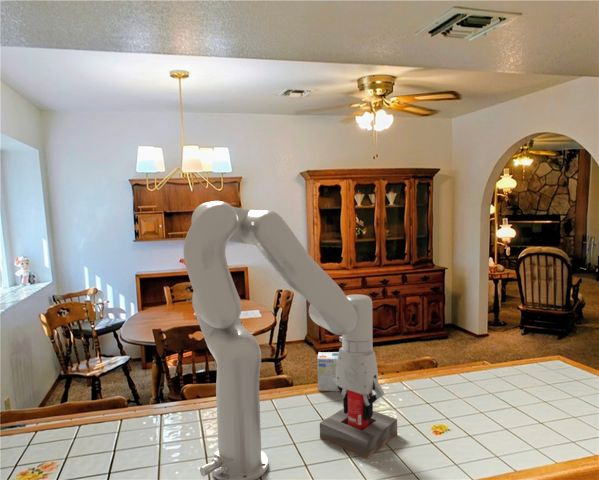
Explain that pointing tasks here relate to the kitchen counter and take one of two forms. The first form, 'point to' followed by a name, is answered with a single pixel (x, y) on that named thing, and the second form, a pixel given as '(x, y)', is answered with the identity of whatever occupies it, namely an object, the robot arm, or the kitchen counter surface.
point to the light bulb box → (327, 371)
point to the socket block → (358, 433)
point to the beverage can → (356, 410)
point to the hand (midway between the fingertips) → (357, 414)
